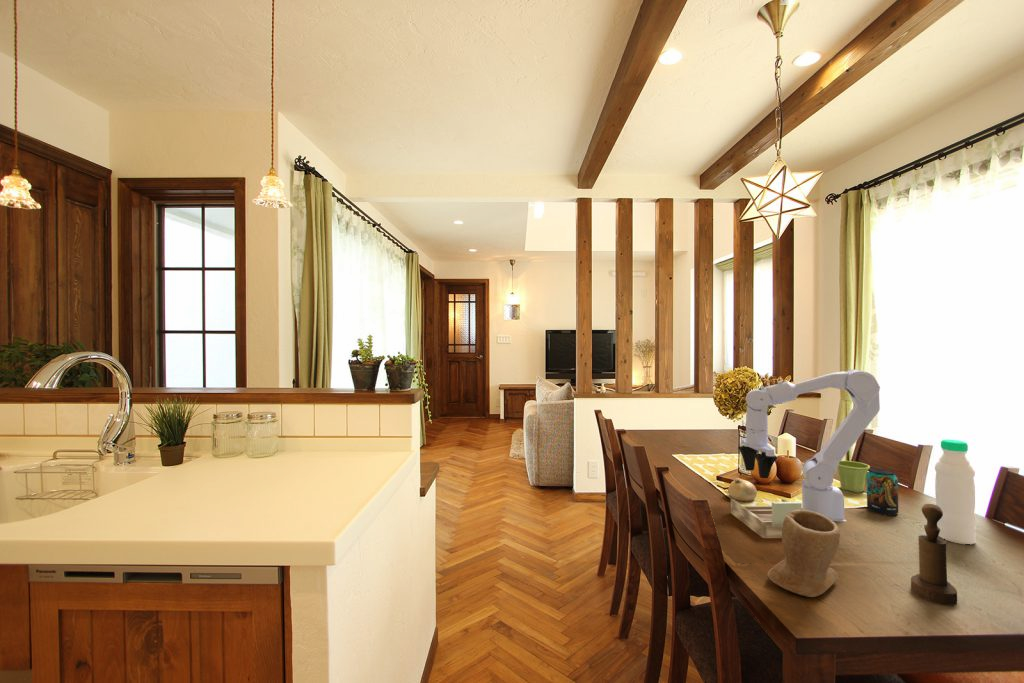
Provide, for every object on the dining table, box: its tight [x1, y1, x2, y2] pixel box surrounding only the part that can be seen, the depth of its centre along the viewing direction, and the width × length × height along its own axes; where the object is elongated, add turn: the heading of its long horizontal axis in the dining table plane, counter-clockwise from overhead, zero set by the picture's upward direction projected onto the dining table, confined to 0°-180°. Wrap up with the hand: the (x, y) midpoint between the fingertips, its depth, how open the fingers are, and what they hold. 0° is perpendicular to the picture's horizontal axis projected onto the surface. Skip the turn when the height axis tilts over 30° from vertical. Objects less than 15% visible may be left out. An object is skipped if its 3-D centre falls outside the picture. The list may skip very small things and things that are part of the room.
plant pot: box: [837, 460, 871, 493], centre depth 145 cm, size 9×9×9 cm
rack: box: [730, 498, 803, 539], centre depth 117 cm, size 16×16×5 cm
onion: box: [727, 477, 758, 502], centre depth 137 cm, size 8×8×7 cm
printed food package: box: [866, 467, 899, 516], centre depth 126 cm, size 7×7×12 cm
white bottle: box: [934, 439, 977, 545], centre depth 108 cm, size 7×7×25 cm
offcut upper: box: [755, 514, 772, 521], centre depth 117 cm, size 4×10×1 cm, turn 86°
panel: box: [771, 501, 802, 526], centre depth 111 cm, size 1×7×8 cm, turn 90°
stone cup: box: [767, 510, 841, 598], centre depth 89 cm, size 15×12×15 cm
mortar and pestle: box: [910, 503, 958, 606], centre depth 84 cm, size 7×6×18 cm
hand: (756, 473), depth 130 cm, fingers open, 7 cm apart
